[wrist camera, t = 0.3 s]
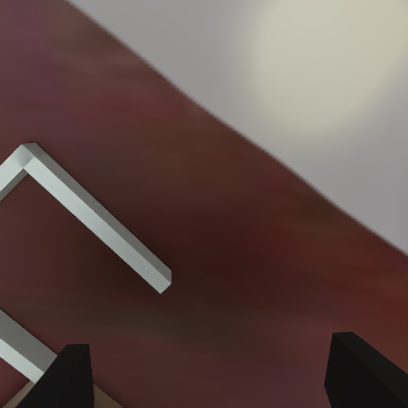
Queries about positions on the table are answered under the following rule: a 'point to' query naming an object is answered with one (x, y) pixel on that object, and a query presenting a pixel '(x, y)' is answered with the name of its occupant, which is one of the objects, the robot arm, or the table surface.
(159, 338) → the table surface
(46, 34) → the table surface
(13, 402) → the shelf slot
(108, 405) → the block
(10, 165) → the tray frame
